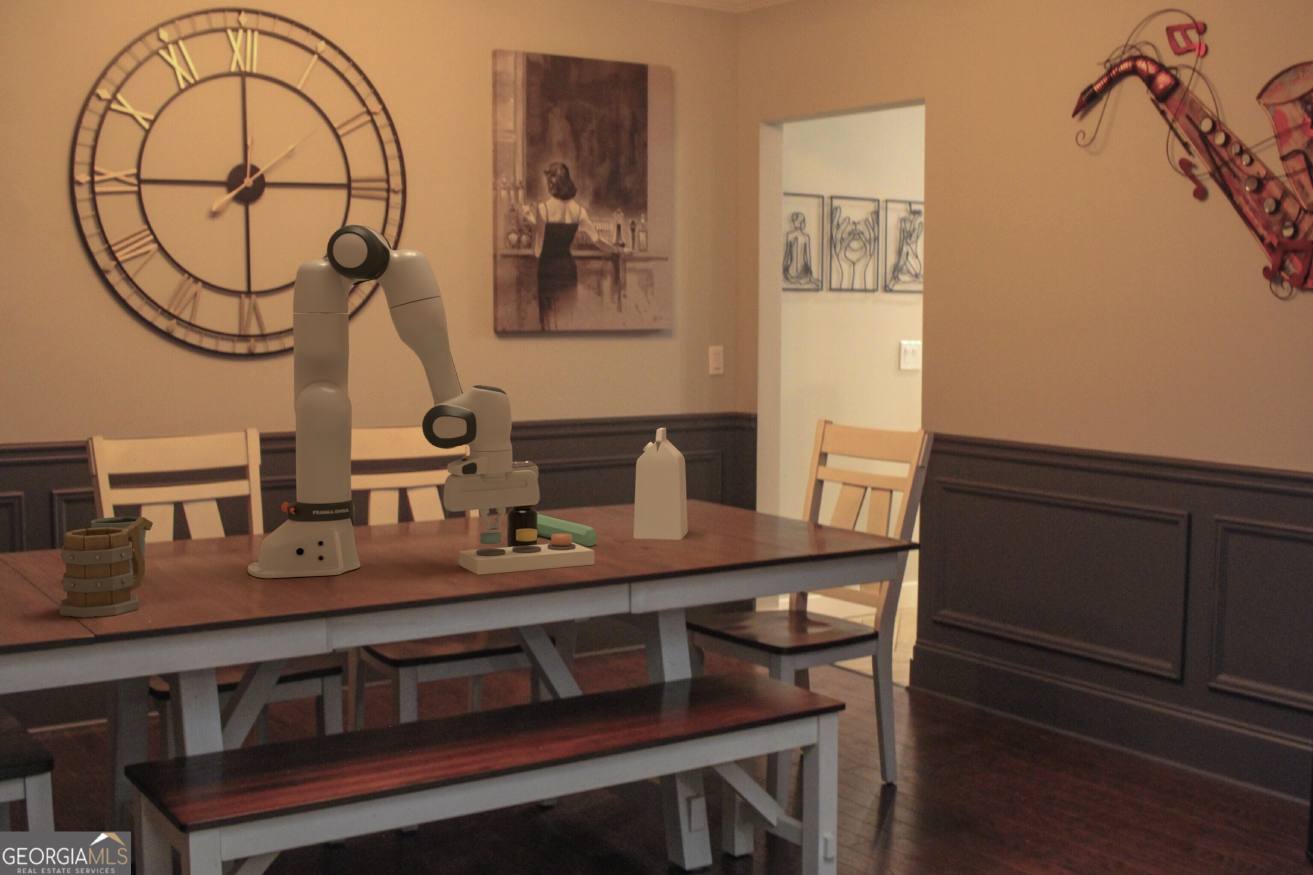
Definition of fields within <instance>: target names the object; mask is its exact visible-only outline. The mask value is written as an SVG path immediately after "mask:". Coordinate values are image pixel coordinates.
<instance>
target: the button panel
mask: <svg viewBox="0 0 1313 875" xmlns="http://www.w3.org/2000/svg"><path fill="white" fill-rule="evenodd" d="M591 565H593V566H594V565H595V550H594V549H591V548H589V547H583V546H581V545H578V544H575V543H573V542H572V545H568V546H554V545H551V543H544V544H537V545H530V546H517V547H507V546H506V547H494V548H492V547H491V548H481V549H471V550H470V549H468V550H459V551H458V566H460V567H462V568H463V569H466V570H468V571H469V572H471V573H474V574H475V575H478V576H479V575H488V574H489V575H490V574H501V573H513V572H523V571H537V570H547V569H548V570H549V569H557V568H558V569H559V568H560V569H561V568H568V567H569V568H571V567H579V566H580V567H581V566H591Z"/></svg>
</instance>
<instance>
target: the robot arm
mask: <svg viewBox="0 0 1313 875" xmlns="http://www.w3.org/2000/svg"><path fill="white" fill-rule="evenodd" d="M326 255H327V256H326V257H323V258H313V259H309V260H307V261H305V262H303V263H301V264H300V266H298V269H297V271H296V276H295V280H294V287H293V299H292V329H293V330H292V331H293V408H294V414H295V480H296V483H295V486H296V500H295V501H293V502H292V503H290V502H287V501H285V502H283V503H282V504H281V507H280V509H281V510H282V512H284V513H286V519H287V520H285V522H282V524H281V525H279V526H278V527H277V528H276V529H275V530H273V531H272V532H270V534H268V535H267V536H266V537H264V539H263V540H262V542H261V545H260V546H259V548H260V549H259V552H258V562H252V563H250V564H249V565H248V566H247V573H248V574H249V575H251V576H253V577H256V578H261V579H274V578H276V579H277V578H278V579H279V578H280V579H282V578H295V577H296V578H298V577H319V576H321V577H323V576H337V575H341V574H343V573H346V572H349V571H354V570H356V569H359V568H360V567H361V565H362V564H361V563H360V559H359V556H358V551H357V547H356V541H355V536H354V534H355V533H354V525H355V504H354V499H352V432H353V431H352V428H353V427H352V425H353V422H352V419H353V418H352V416H353V415H352V414H353V412H352V409H353V408H352V401H351V400H350V399H351V398H350V397H349V361H350V360H349V358H350V333H349V332H350V331H349V330H350V329H349V328H350V327H349V324H350V323H349V295H350V289H351V288H352V287H353V286H357V285H360V284H363V283H366V282H370V281H375V282H377V283H378V285H380V287H381V288H382V290H383V293H384V297H385V299H386V303H387V307H388V311H389V314H390V315H389V316H390V318H391V321H392V324H393V326H394V328H395V331H396V333H397V334H398V337H399V339H400V341H402V343H404V344H405V346H407V347H408V348H409V349H410V350H412V351H413V353H414V354H415V355H416V356H417V358H418V359H419V360H420V361H421V362H420V363H421V364H422V367H423V369H424V372H425V375H426V379H427V383H428V386H429V389H430V393H431V396H432V398H433V406H432V407H431V408H430V409H429V410H428V411H427V412H426V413H425V415H424V416H423V418H422V422H421V423H422V424H421V428H422V429H421V430H422V434H423V436H424V438H425V439H426V440H427V442H428V443H429V444H430V445H432V446H433V447H436V448H439V449H442V450H443V449H444V450H450V449H455V448H457V447H461V446H462V447H463V446H468V448H469V455H466V456H464V457H462V458H459V459H457V460H454V461H452V462H450V463H448V464H447V467H446V468H447V472H448V474H449V475H448V476H447V477H446V478H445V481H444V484H443V485H444V486H443V507H444V508H445V509H446V510H447V511H448V512H463V511H464V512H465V511H474V510H475V511H476V510H478V511H479V515H480V516H481V518H482V520H483V521H484V528H485V531H495V530H501V529H502V520H503V518H504V517H505V515H506V514H507V513H506V512H507V510H506V509H507V508H511V507H512V508H513V506H525V505H533V506H534V505H538V503H539V501H540V500H541V498H540V497H541V495H540V488H539V480H538V479H539V467H538V465H537V464H536V463H534V462H532V461H531V460H526V461H513V446H512V445H513V444H512V442H511V441H512V440H511V432H512V426H513V425H512V411H511V404H510V399H509V395H508V394H507V393H506V391H505V390H503V389H502V388H499V387H495V386H489V385H482V384H479V385H477V384H476V385H473V386H471V387H470V388H469V389H467V390H466V391H465V392H463V390H462V386H461V383H460V380H459V377H458V373H457V368H456V366H455V363H454V360H453V356H452V352H451V347H450V340H449V332H448V324H447V316H446V311H445V305H444V300H443V297H442V293H441V290H440V286H439V283H438V281H437V278H436V275H435V272H434V270H433V268H432V265H431V264H430V262H429V260H428V258H427V256H426V255H425V253H424V252H421V251H420V250H417V249H413V248H412V249H411V248H403V249H397V250H395V249H394V250H393V249H392V246H391V244H390V242H389V240H388V239H387V237H385V235H383V234H382V233H381V232H379V231H377V229H374V228H373V227H372V228H371V227H370V226H366V225H358V224H348V225H344V226H342V227H340V228H338V229H337V230H336V231H334V232H333V234H332V235H331V236H330V238H329V239H328V241H327V246H326ZM490 509H495V511H496V512H497V515H496V516H495V519H494V520H493V519H490V518H489V516H488V515H489V514H490Z"/></svg>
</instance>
